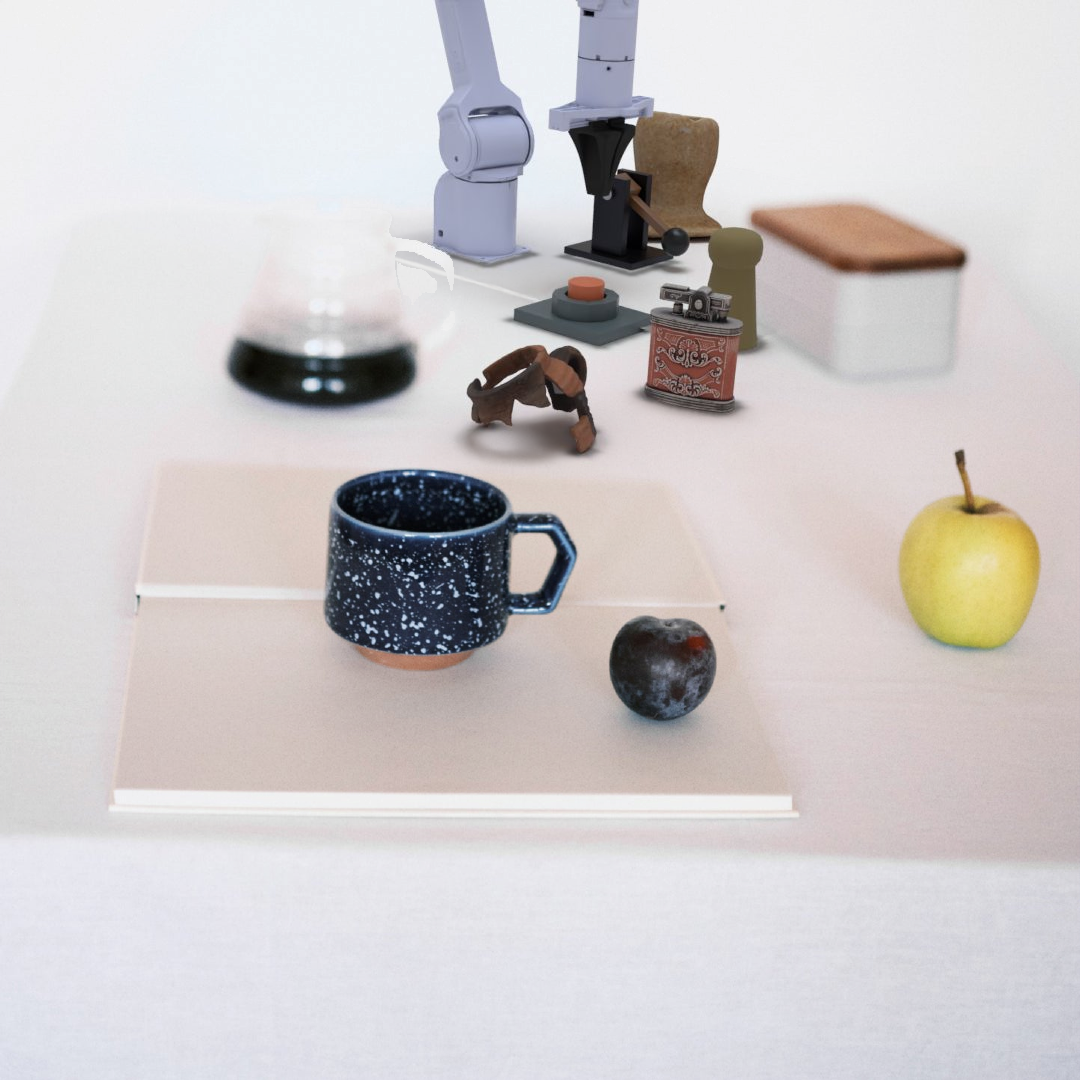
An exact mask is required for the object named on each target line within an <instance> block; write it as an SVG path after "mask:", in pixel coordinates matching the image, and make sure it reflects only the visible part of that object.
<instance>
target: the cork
mask: <svg viewBox="0 0 1080 1080" xmlns="http://www.w3.org/2000/svg"><path fill="white" fill-rule="evenodd" d="M707 245H708V246H707V254H708V258H709V259H710V261H711V263H712V265H711V269H710V273H709V277H708V282H707V286H708V287H710V288H711V289H712V290H713V292H714V293H718V294H724V295H729V296H731V297H732V298H731V307H730V309H729V313H728V315H727V317H730V318H734V319H738V320H740V321H742V322H743V328H742V333H741V334H740V336H739V345H738V352H745V351H746V352H747V351H749V350H753V349H755V348H756V347H757V346H758V345H757V344H758V333H757V332H758V331H757V285H756V283H757V282H756V280H757V279H756V276H757V275H756V266H757V265H758V264H759V263H760V262H761V260H762V257H763V253H764V240H763V238H762V236H761V235H760V233H758V232H757V231H755V230H753V229H749V228H745V227H740V226H729V227H722V228H721V229H719V230H717V231H715V232H714V233H713V234H712V236H710V238H709V240H708V244H707ZM716 310H717V315H718V309H716Z"/></svg>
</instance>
